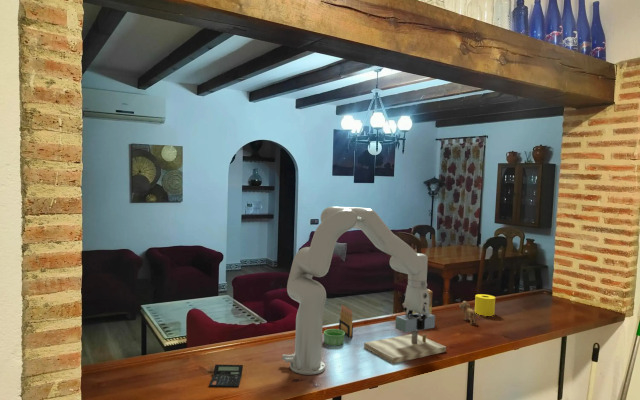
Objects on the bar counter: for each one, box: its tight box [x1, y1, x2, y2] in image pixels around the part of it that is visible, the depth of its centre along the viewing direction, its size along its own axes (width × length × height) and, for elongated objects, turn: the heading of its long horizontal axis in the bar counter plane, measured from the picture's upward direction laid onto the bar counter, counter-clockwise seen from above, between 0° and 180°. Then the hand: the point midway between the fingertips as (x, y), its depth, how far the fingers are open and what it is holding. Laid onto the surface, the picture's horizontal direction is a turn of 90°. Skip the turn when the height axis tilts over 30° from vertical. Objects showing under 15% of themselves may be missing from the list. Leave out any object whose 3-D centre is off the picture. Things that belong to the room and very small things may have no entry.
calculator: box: [208, 364, 244, 388], centre depth 149 cm, size 9×12×3 cm
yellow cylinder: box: [474, 293, 496, 317], centre depth 241 cm, size 10×10×9 cm
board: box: [363, 330, 447, 364], centre depth 183 cm, size 28×18×8 cm, turn 121°
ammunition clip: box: [338, 304, 354, 338], centre depth 200 cm, size 11×2×12 cm, turn 22°
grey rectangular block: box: [395, 313, 436, 334], centre depth 185 cm, size 16×6×5 cm, turn 121°
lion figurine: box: [458, 300, 478, 326], centre depth 226 cm, size 15×5×9 cm, turn 11°
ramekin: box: [323, 328, 346, 347], centre depth 188 cm, size 9×9×4 cm
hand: (415, 326), depth 185 cm, fingers closed on grey rectangular block, 6 cm apart
